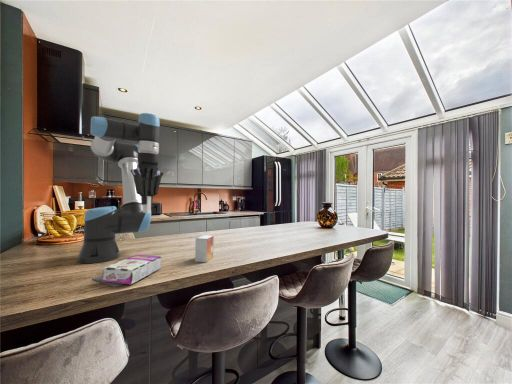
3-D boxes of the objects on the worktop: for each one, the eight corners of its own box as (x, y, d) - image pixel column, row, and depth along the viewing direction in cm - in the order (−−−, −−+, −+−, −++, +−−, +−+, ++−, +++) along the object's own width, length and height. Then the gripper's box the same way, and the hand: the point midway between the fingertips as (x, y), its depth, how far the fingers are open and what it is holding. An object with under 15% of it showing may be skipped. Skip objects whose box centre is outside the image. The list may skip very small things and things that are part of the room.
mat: (92, 279, 74) (92, 278, 74) (131, 267, 87) (131, 266, 87) (115, 287, 68) (115, 286, 68) (153, 273, 81) (153, 272, 81)
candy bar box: (136, 266, 87) (101, 282, 71) (137, 254, 87) (101, 266, 71) (161, 268, 85) (131, 285, 69) (162, 256, 85) (131, 269, 69)
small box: (206, 262, 95) (206, 238, 95) (194, 261, 96) (195, 238, 96) (213, 257, 103) (214, 235, 103) (202, 256, 104) (203, 234, 104)
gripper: (139, 149, 78) (137, 214, 78) (168, 155, 90) (166, 212, 90) (126, 151, 82) (124, 213, 81) (156, 156, 93) (154, 211, 93)
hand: (146, 212), depth 86 cm, fingers closed
